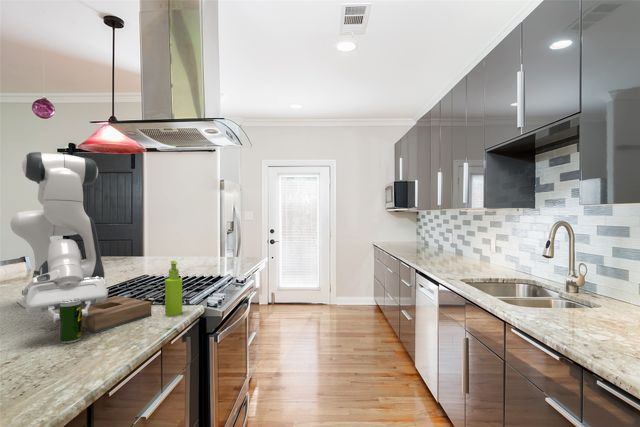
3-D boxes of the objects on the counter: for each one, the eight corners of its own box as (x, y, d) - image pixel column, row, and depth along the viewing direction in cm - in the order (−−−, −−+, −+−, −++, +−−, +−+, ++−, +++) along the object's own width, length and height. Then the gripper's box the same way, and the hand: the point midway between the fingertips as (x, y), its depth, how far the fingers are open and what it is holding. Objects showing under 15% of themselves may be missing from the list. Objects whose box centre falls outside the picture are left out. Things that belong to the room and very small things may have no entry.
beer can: (58, 345, 98) (58, 304, 97) (60, 339, 102) (60, 300, 102) (81, 341, 101) (81, 301, 100) (82, 335, 105) (82, 297, 105)
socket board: (60, 323, 117) (60, 309, 116) (117, 308, 134) (117, 295, 134) (95, 333, 108) (95, 317, 108) (151, 315, 125) (151, 302, 125)
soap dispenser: (165, 317, 123) (165, 262, 123) (164, 312, 129) (164, 260, 129) (183, 315, 126) (183, 261, 125) (181, 310, 132) (181, 259, 131)
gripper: (103, 281, 117) (109, 316, 109) (24, 291, 103) (26, 331, 96) (106, 270, 113) (112, 305, 106) (25, 278, 99) (26, 319, 92)
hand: (71, 318), depth 101 cm, fingers closed on beer can, 5 cm apart
